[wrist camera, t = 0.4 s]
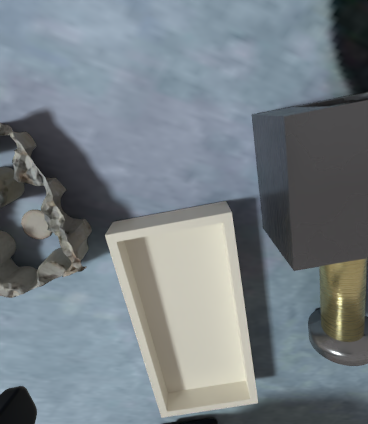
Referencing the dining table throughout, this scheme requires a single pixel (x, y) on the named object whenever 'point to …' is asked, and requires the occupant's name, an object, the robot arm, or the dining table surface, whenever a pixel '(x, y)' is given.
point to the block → (315, 180)
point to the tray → (187, 306)
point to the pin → (341, 314)
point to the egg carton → (37, 224)
